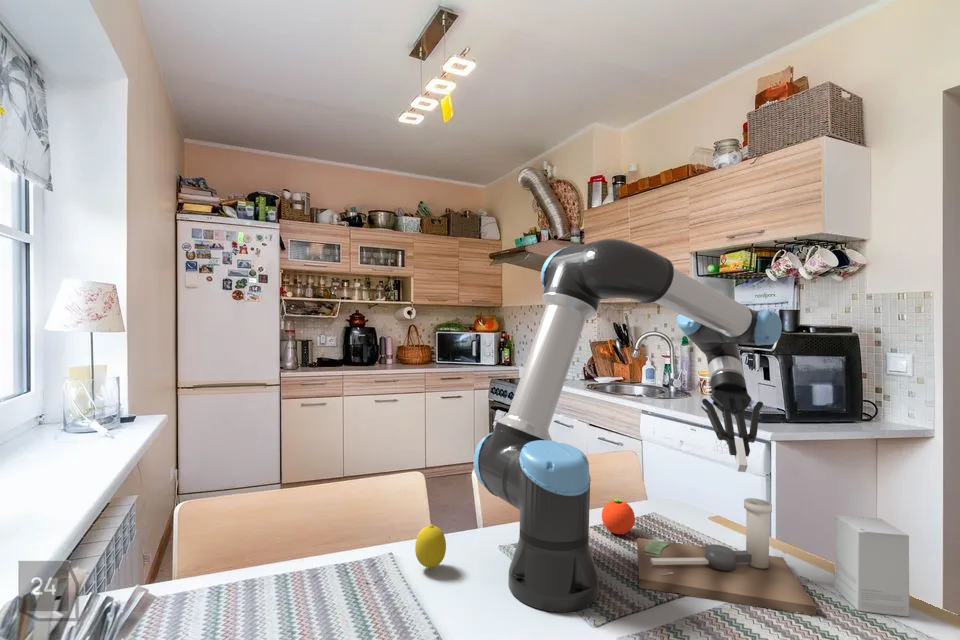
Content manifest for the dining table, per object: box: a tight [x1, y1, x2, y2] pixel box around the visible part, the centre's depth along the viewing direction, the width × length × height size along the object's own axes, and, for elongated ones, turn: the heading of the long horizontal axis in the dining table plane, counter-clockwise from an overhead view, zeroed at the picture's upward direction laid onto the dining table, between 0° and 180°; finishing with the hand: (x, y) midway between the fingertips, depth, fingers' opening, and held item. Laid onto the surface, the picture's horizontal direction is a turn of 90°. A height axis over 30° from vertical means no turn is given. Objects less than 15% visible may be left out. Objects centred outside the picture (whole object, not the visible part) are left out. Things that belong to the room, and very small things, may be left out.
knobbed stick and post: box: [651, 497, 773, 571], centre depth 88 cm, size 22×5×11 cm, turn 93°
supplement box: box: [834, 515, 910, 617], centre depth 80 cm, size 7×7×13 cm
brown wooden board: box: [636, 537, 817, 616], centre depth 87 cm, size 26×17×2 cm, turn 73°
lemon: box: [414, 523, 447, 570], centre depth 88 cm, size 6×6×8 cm
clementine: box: [601, 498, 636, 535], centre depth 106 cm, size 8×7×7 cm
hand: (742, 468), depth 101 cm, fingers closed
